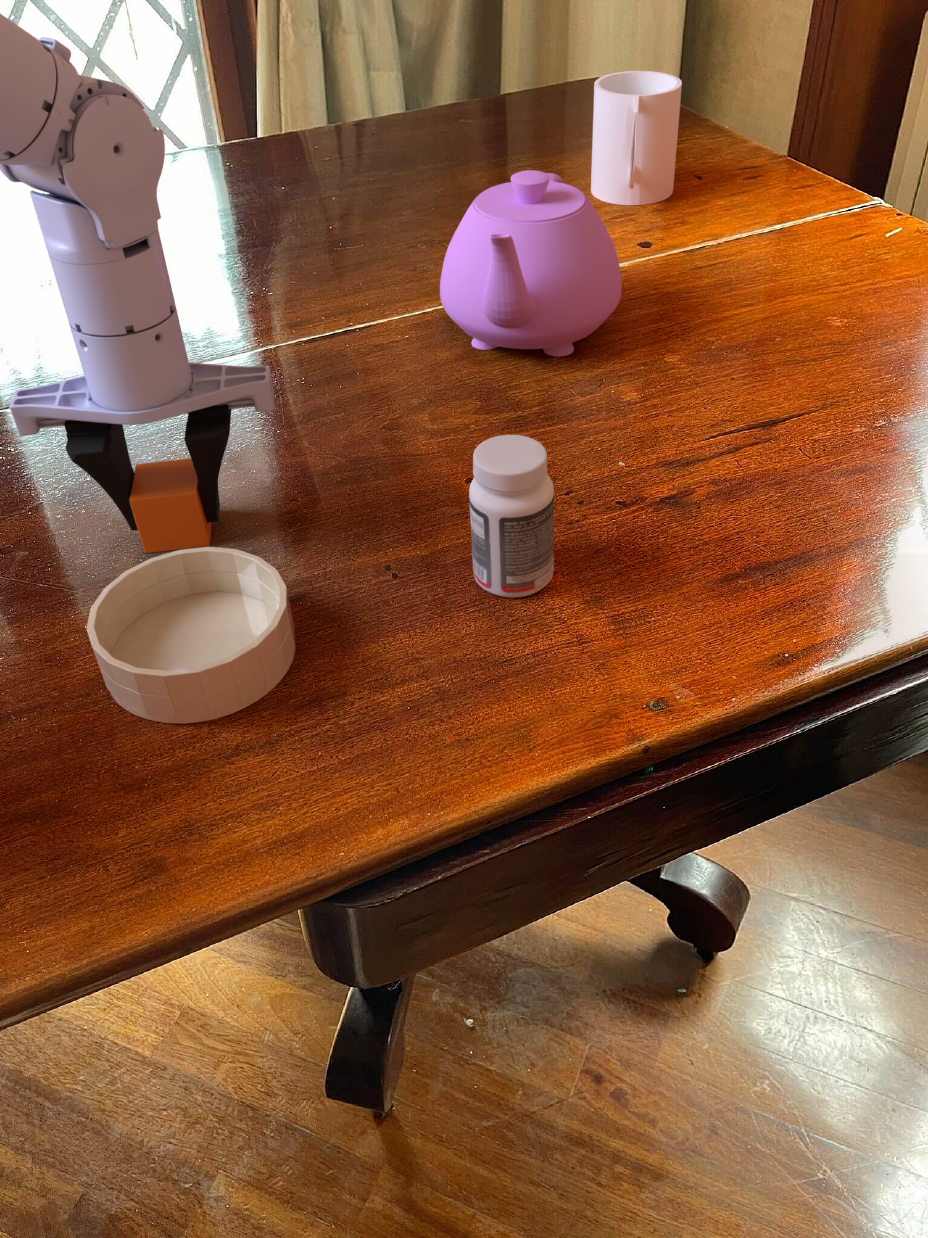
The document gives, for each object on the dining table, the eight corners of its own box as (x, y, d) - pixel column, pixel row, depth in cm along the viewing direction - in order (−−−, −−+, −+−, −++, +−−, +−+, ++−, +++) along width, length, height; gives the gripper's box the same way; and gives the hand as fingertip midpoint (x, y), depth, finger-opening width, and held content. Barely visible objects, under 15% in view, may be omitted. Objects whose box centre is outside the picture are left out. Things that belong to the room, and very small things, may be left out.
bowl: (92, 735, 56) (74, 686, 54) (116, 605, 64) (100, 557, 61) (296, 711, 57) (286, 661, 54) (295, 585, 64) (286, 537, 62)
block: (144, 553, 67) (128, 500, 65) (150, 516, 70) (135, 463, 68) (209, 546, 68) (196, 493, 65) (213, 509, 71) (200, 457, 68)
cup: (586, 219, 105) (589, 108, 98) (593, 175, 114) (596, 70, 107) (673, 220, 104) (682, 108, 97) (673, 175, 112) (681, 70, 106)
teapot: (592, 405, 78) (599, 239, 70) (405, 386, 82) (391, 225, 74) (635, 287, 93) (645, 138, 85) (474, 275, 96) (469, 130, 88)
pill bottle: (565, 560, 65) (568, 439, 60) (535, 608, 62) (535, 485, 56) (492, 542, 67) (488, 423, 61) (459, 588, 64) (452, 466, 58)
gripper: (257, 270, 63) (292, 469, 72) (0, 294, 62) (67, 493, 71) (255, 325, 58) (293, 532, 66) (-26, 352, 57) (50, 559, 66)
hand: (176, 517), depth 68 cm, fingers closed on block, 4 cm apart
